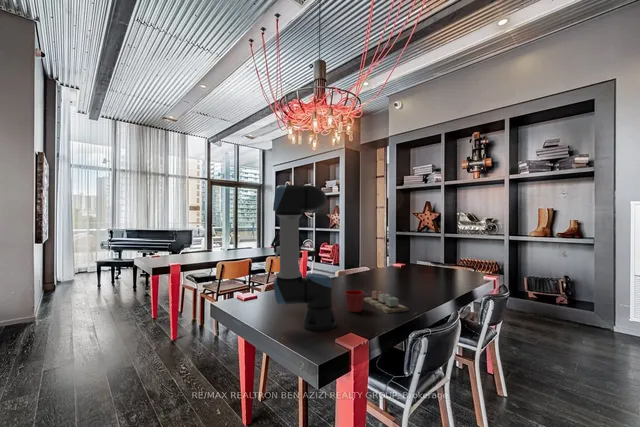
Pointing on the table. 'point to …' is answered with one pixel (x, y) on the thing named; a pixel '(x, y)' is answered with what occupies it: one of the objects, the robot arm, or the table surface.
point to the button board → (385, 307)
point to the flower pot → (354, 300)
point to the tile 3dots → (376, 294)
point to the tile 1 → (382, 297)
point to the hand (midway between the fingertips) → (287, 257)
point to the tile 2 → (391, 301)
